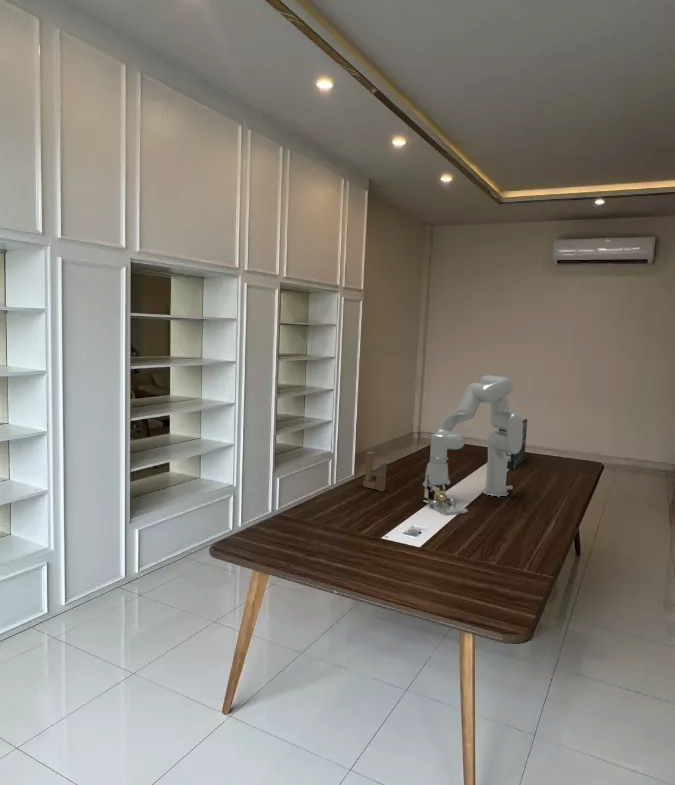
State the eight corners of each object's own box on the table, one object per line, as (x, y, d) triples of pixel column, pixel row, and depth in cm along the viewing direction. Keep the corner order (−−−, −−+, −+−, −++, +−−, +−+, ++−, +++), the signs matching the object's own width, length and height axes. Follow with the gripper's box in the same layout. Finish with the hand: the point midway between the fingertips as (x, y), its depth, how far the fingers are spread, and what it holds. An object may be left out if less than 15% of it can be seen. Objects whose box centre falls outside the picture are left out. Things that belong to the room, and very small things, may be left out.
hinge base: (452, 504, 265) (453, 496, 264) (469, 512, 254) (469, 504, 254) (427, 507, 259) (428, 499, 258) (443, 515, 248) (444, 507, 248)
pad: (435, 499, 271) (435, 499, 271) (447, 505, 263) (447, 505, 263) (422, 500, 268) (422, 500, 268) (434, 507, 260) (434, 506, 260)
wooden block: (381, 492, 280) (383, 455, 278) (362, 487, 286) (364, 452, 284) (385, 490, 283) (387, 454, 281) (366, 486, 289) (368, 451, 287)
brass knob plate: (433, 496, 271) (433, 485, 271) (448, 503, 261) (449, 492, 260) (424, 497, 269) (425, 486, 269) (439, 504, 259) (440, 493, 258)
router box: (507, 457, 375) (510, 416, 372) (524, 459, 370) (528, 418, 367) (495, 467, 343) (498, 423, 341) (514, 470, 338) (517, 425, 335)
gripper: (448, 457, 270) (445, 495, 272) (418, 459, 263) (415, 498, 265) (458, 460, 264) (455, 499, 266) (427, 463, 256) (424, 502, 258)
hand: (435, 498), depth 265 cm, fingers closed on brass knob plate, 5 cm apart
